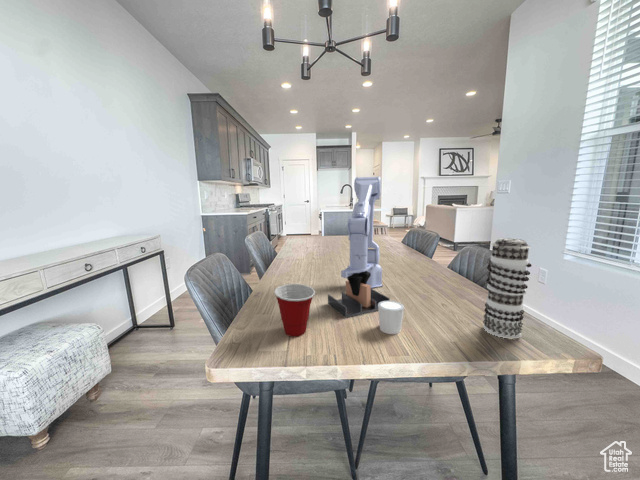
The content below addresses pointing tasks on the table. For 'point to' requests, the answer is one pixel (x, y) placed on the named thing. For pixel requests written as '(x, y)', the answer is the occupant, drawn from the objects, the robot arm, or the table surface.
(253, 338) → the table surface
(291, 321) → the plastic cup
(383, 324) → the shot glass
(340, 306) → the rack
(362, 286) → the upright salmon slab
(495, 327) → the decorative candle
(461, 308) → the table surface
